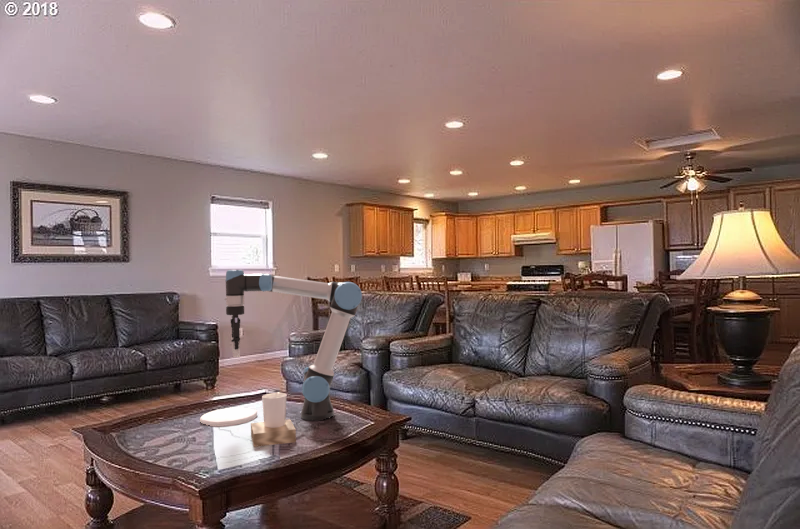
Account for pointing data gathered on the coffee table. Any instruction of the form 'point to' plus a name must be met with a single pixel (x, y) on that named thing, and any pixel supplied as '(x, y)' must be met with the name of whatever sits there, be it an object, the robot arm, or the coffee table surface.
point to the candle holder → (274, 409)
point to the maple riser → (272, 434)
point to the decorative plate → (228, 416)
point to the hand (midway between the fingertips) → (235, 354)
